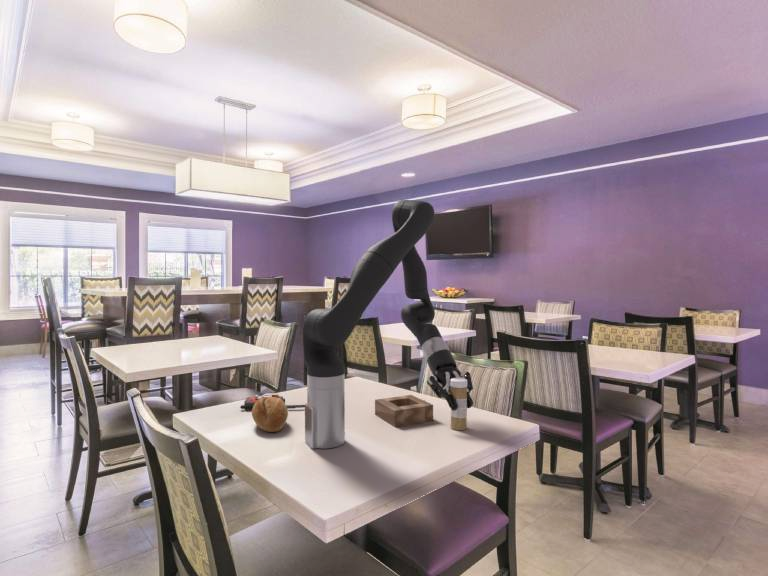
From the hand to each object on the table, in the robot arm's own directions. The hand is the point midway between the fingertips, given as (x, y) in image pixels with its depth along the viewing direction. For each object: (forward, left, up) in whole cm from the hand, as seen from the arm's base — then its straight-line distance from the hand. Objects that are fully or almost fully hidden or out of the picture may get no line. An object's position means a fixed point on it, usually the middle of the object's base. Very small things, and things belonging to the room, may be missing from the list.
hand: (463, 407), depth 120 cm
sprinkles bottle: (0, +2, -6) cm, 7 cm away
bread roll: (-46, +27, -6) cm, 53 cm away
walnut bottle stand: (-9, +17, -6) cm, 20 cm away
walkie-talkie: (-41, +45, -7) cm, 61 cm away
